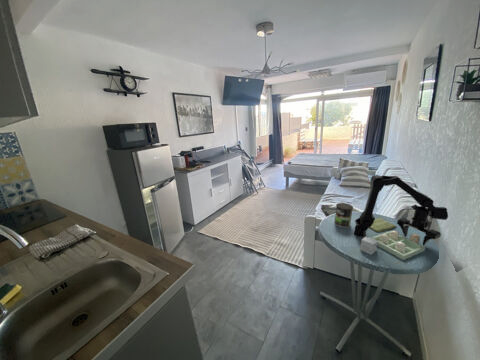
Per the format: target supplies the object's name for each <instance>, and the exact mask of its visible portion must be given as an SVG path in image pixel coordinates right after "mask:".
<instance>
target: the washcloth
mask: <svg viewBox="0 0 480 360" xmlns="http://www.w3.org/2000/svg"><path fill="white" fill-rule="evenodd" d="M394 228H397V225H396V224H394V223H391V222H388V221H387V220H385V219H383V218H381V217H378V218H375V220H374V222H373V224H372V226H371V227H369V228H368V229H371V230H373V231H374V232H375V233H384V232H386V231H387V232H388V231H391V230H392V229H394Z"/></svg>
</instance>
